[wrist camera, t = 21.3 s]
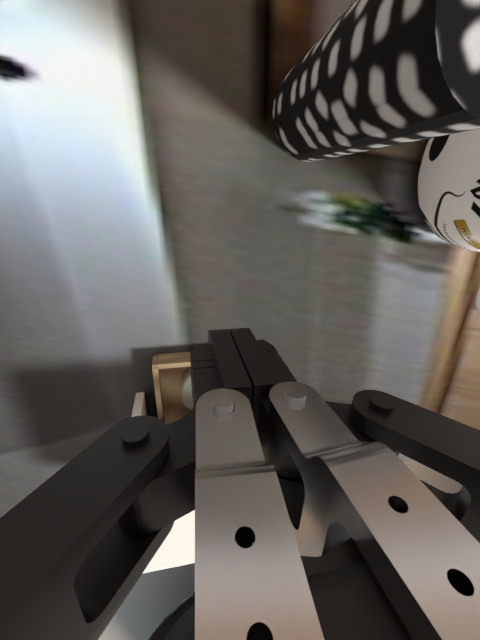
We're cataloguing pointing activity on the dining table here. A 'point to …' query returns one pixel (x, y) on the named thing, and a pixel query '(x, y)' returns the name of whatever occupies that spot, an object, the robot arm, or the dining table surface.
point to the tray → (172, 385)
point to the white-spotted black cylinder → (383, 79)
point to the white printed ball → (452, 188)
